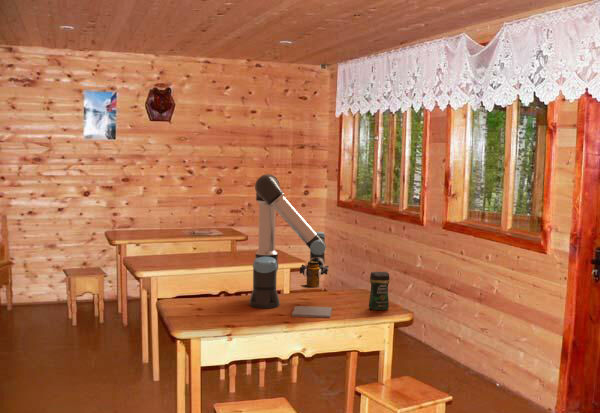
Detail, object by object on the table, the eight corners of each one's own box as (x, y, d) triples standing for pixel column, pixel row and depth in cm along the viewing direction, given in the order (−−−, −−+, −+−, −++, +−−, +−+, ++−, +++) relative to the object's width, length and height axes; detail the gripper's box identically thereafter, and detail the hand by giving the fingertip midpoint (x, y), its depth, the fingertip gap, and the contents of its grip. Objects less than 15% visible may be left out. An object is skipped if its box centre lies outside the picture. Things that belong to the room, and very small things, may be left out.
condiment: (322, 287, 310) (323, 262, 309) (307, 289, 305) (308, 263, 304) (314, 284, 316) (314, 259, 315) (299, 286, 312) (300, 261, 310)
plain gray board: (291, 316, 305) (291, 314, 305) (295, 308, 321) (295, 306, 321) (330, 317, 303) (330, 315, 303) (331, 309, 319) (331, 307, 319)
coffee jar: (371, 311, 317) (372, 273, 315) (367, 307, 325) (368, 270, 323) (390, 310, 319) (391, 273, 317) (385, 306, 326) (386, 270, 325)
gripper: (334, 273, 327) (332, 282, 304) (297, 272, 329) (291, 281, 306) (334, 258, 327) (332, 266, 304) (297, 257, 328) (292, 265, 306)
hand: (312, 274), depth 305 cm, fingers closed on condiment, 6 cm apart
